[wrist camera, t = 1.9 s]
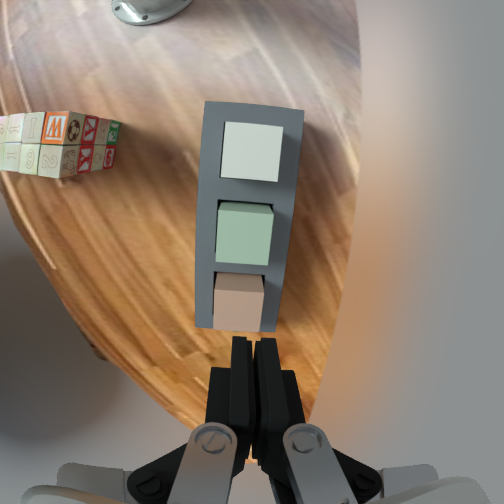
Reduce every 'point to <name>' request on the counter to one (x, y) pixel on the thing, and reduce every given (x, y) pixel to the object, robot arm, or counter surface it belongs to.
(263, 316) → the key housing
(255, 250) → the key sage
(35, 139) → the stack of blocks
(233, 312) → the beige cube
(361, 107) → the counter surface
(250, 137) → the key cream
